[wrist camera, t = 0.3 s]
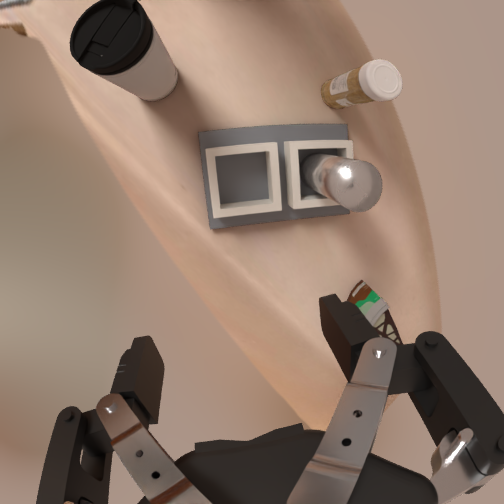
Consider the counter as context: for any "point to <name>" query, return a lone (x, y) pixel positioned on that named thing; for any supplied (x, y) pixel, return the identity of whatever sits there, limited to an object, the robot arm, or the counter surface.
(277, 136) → the grey and white holder
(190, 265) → the counter surface
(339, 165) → the cylinder
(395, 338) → the food container
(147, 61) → the travel mug
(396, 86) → the sprinkles bottle
